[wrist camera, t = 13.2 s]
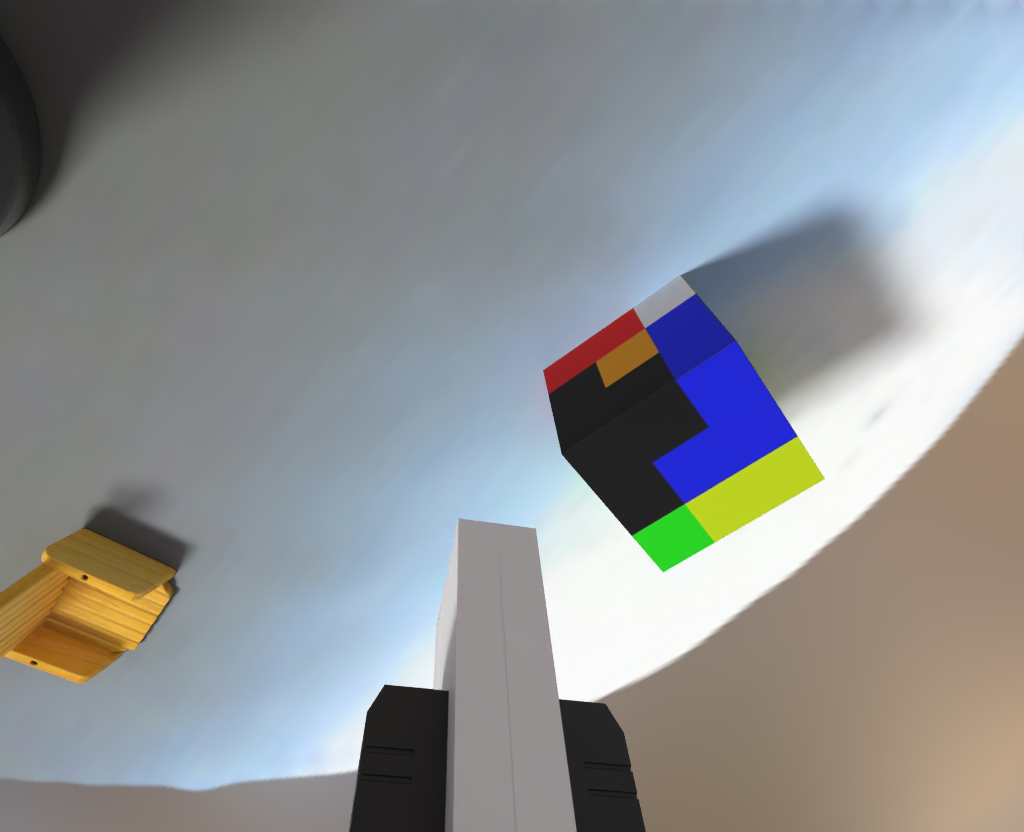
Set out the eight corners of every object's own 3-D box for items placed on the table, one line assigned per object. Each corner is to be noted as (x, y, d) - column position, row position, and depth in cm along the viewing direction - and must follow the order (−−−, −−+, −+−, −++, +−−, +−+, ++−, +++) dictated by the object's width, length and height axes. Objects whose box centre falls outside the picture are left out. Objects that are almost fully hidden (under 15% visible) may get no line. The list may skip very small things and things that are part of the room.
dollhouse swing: (127, 659, 55) (68, 769, 47) (-1, 607, 52) (-88, 715, 43) (187, 572, 51) (134, 675, 43) (52, 510, 48) (-32, 609, 40)
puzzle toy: (680, 274, 42) (736, 340, 33) (757, 392, 46) (825, 478, 38) (543, 370, 45) (561, 454, 36) (627, 473, 49) (663, 572, 40)
